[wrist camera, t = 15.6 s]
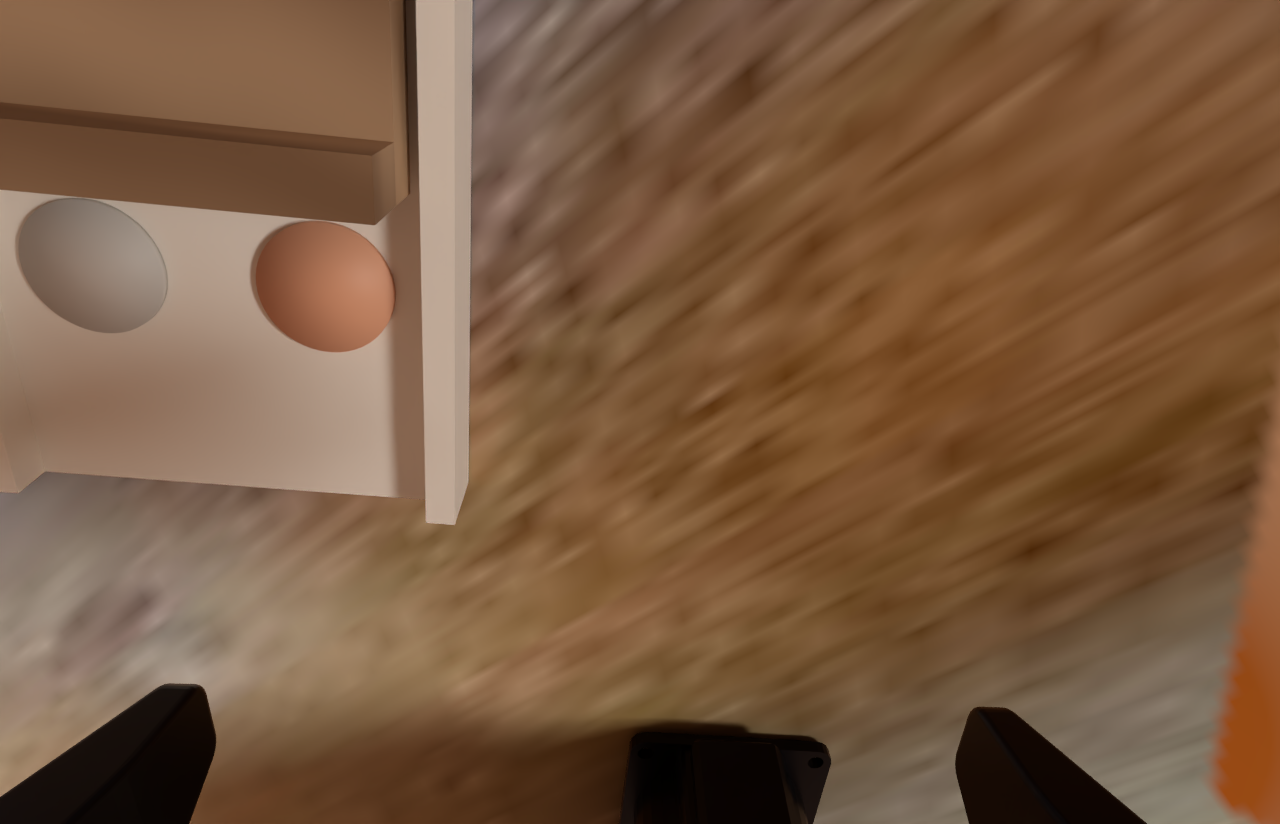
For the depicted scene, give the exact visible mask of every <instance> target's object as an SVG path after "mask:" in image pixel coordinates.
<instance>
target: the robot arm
mask: <svg viewBox="0 0 1280 824" xmlns="http://www.w3.org/2000/svg"><path fill="white" fill-rule="evenodd" d="M215 748H216V733H215V728H214V724H213V720H212V716H211V712H210V707H209V703H208V699H207V695H206V692H205V690H204V689H203V687H201V686H200V685H197V684H164V685H162V686H160V687H158V688H156V689H155V690H153V691H152V692H150V693H149V694H148V695H146V696H145V697H143V698H142V699H140V700H139V701H138V702H136V703H135V704H133V705H132V706H130V707H129V708H127V709H126V710H125V711H123V712H122V713H120V714H119V715H117V716H116V717H115V718H113V719H112V720H110V721H109V722H107V723H106V724H104V725H103V726H102V727H100V728H99V729H97V730H96V731H94V732H93V733H92V734H90V735H89V736H87V737H86V738H84V739H83V740H81V741H80V742H79V743H77V744H76V745H74V746H73V747H71V748H70V749H69V750H67V751H66V752H64V753H63V754H61V755H60V756H58V757H57V758H56V759H54V760H53V761H51V762H50V763H48V764H47V765H46V766H44V767H43V768H41V769H40V770H38V771H37V772H35V773H34V774H33V775H31V776H30V777H28V778H27V779H25V780H24V781H23V782H21V783H20V784H18V785H17V786H15V787H14V788H13V789H11V790H10V791H8V792H7V793H5V794H4V795H2V796H1V797H0V824H189V823H190V820H191V817H192V815H193V812H194V809H195V806H196V804H197V801H198V798H199V795H200V793H201V790H202V787H203V784H204V782H205V779H206V776H207V773H208V771H209V768H210V765H211V762H212V760H213V756H214V753H215ZM643 748H647V749H643ZM815 757H816V758H815ZM830 765H831V758H830V754H829V751H828V748H827V747H826V745H824V744H823V743H820V742H812V741H794V740H777V739H759V738H742V737H724V736H706V735H689V734H671V733H654V732H642V733H639V734H636V735H635V736H634V737H632V739H631V741H630V745H629V753H628V760H627V767H626V775H625V782H624V789H623V797H622V804H621V811H620V818H619V824H813V822H814V818H815V815H816V812H817V808H818V805H819V802H820V798H821V795H822V792H823V788H824V785H825V782H826V778H827V775H828V772H829V768H830ZM955 766H956V775H957V779H958V783H959V787H960V790H961V794H962V798H963V802H964V806H965V810H966V813H967V817H968V821H969V824H1147V823H1146V822H1145V821H1143V820H1142V819H1141V818H1140V817H1139V816H1137V815H1136V814H1135V813H1134V812H1133V811H1131V810H1130V809H1129V808H1128V807H1127V806H1125V805H1124V804H1123V803H1122V802H1121V801H1119V800H1118V799H1117V798H1116V797H1115V796H1113V795H1112V794H1111V793H1110V792H1109V791H1107V790H1106V789H1105V788H1104V787H1103V786H1102V785H1100V784H1099V783H1098V782H1097V781H1096V780H1094V779H1093V778H1092V777H1091V776H1090V775H1088V774H1087V773H1086V772H1085V771H1084V770H1082V769H1081V768H1080V767H1079V766H1078V765H1076V764H1075V763H1074V762H1073V761H1072V760H1070V759H1069V758H1068V757H1067V756H1066V755H1064V754H1063V753H1062V752H1061V751H1060V750H1058V749H1057V748H1056V747H1055V746H1054V745H1052V744H1051V743H1050V742H1049V741H1048V740H1047V739H1045V738H1044V737H1043V736H1042V735H1041V734H1039V733H1038V732H1037V731H1036V730H1035V729H1033V728H1032V727H1031V726H1030V725H1029V724H1027V723H1026V722H1025V721H1024V720H1023V719H1021V718H1020V717H1019V716H1018V715H1017V714H1015V713H1014V712H1013V711H1011V710H1009V709H1007V708H1000V707H976V708H974V709H973V710H972V711H971V712H970V714H969V716H968V719H967V722H966V725H965V728H964V731H963V734H962V737H961V741H960V744H959V747H958V750H957V754H956V761H955Z"/></svg>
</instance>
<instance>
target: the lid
mask: <svg viewBox="0 0 1280 824" xmlns="http://www.w3.org/2000/svg"><path fill="white" fill-rule="evenodd" d="M0 190H9V191H19V192H30V193H40V194H51V195H61V196H72V197H82V198H93V199H103V200H114V201H124V202H135V203H145V204H156V205H166V206H177V207H187V208H198V209H208V210H219V211H229V212H240V213H250V214H261V215H271V216H282V217H292V218H303V219H313V220H324V221H334V222H345V223H355V224H366V225H376V224H377V223H378V222H379V221H380V220H382V219H383V218H384V217H385V216H386V215H387V214H388V213H389V212H390V211H391V210H393V209H394V208H395V207H396V206H397V205H398V204H399V203H400V202H401V201H402V200H404V199H405V198H406V197H407V196H408V195H409V194H410V157H409V116H408V76H407V35H406V0H0Z"/></svg>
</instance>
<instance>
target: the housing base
mask: <svg viewBox="0 0 1280 824" xmlns="http://www.w3.org/2000/svg"><path fill="white" fill-rule="evenodd" d="M472 3H473V0H406V35H407V76H408V116H409V157H410V194H409V195H408V196H407V197H406V198H405V199H404V200H402V201H401V202H400V203H399V204H398V205H397V206H396V207H395V208H394V209H393V210H391V211H390V212H389V213H388V214H387V215H386V216H385V217H384V218H383V219H382V220H380V221H379V222H378V223H377V224H376V225H366V224H355V223H345V222H334V221H324V220H313V219H303V218H292V217H282V216H271V215H261V214H250V213H240V212H229V211H219V210H208V209H198V208H187V207H177V206H166V205H156V204H145V203H135V202H124V201H114V200H103V199H93V198H82V197H72V196H61V195H51V194H40V193H30V192H19V191H9V190H0V492H8V493H19V492H21V491H22V490H23V489H24V488H26V487H27V486H28V485H29V484H30V483H32V482H33V481H34V480H35V479H37V478H38V477H39V476H40V475H41V474H43V473H44V472H58V473H72V474H85V475H99V476H112V477H126V478H139V479H153V480H166V481H180V482H193V483H207V484H220V485H234V486H247V487H261V488H274V489H288V490H301V491H315V492H328V493H342V494H355V495H369V496H382V497H395V498H409V499H422V500H426V523H437V524H450V525H455V522H456V519H457V516H458V513H459V510H460V507H461V504H462V501H463V497H464V494H465V491H466V488H467V485H468V476H469V358H470V240H471V122H472Z"/></svg>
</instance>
